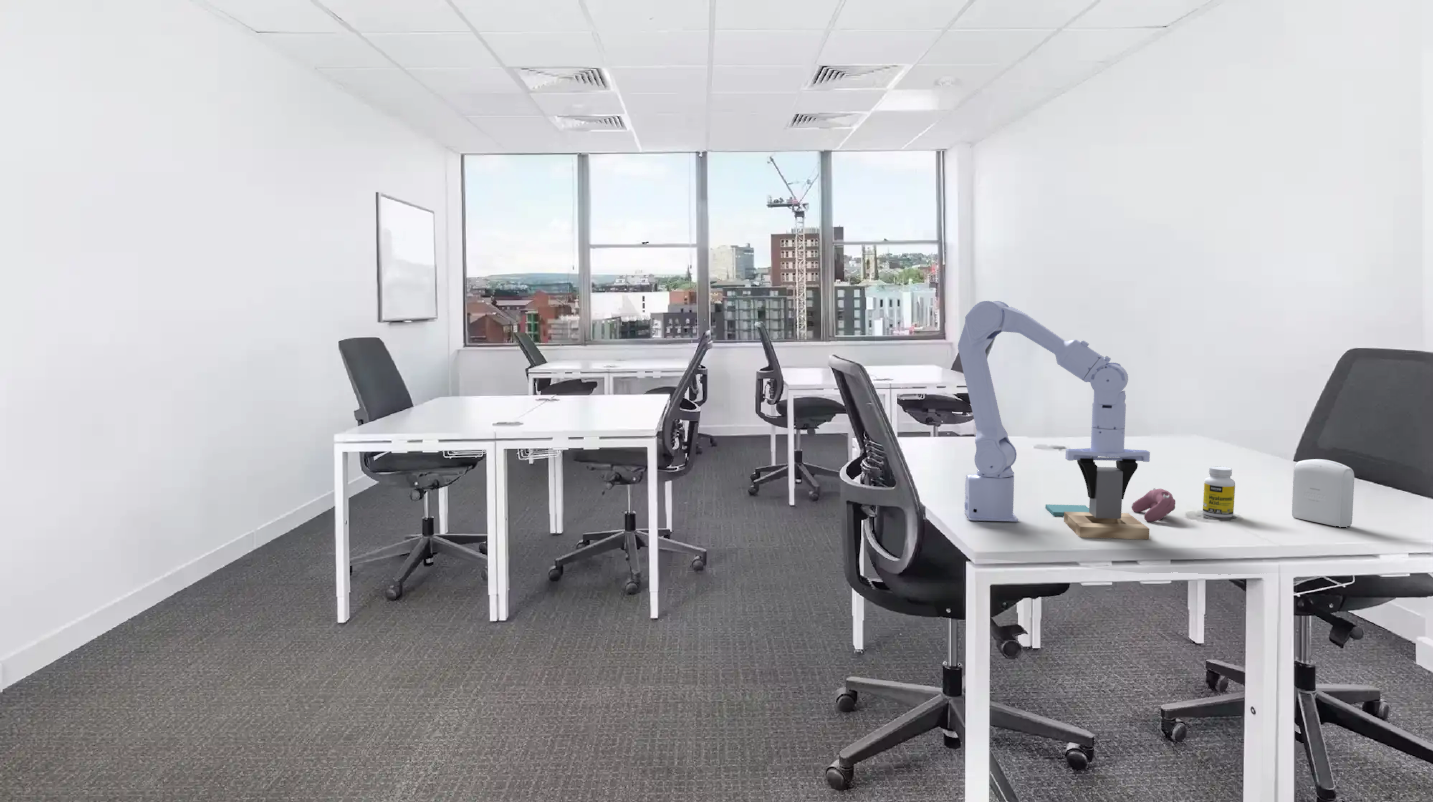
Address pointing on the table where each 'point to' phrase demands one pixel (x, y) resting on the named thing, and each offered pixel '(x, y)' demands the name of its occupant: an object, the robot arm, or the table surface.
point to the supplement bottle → (1219, 492)
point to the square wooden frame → (1106, 526)
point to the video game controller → (1155, 504)
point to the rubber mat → (1065, 509)
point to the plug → (1107, 493)
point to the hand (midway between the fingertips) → (1105, 497)
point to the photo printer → (1323, 492)
